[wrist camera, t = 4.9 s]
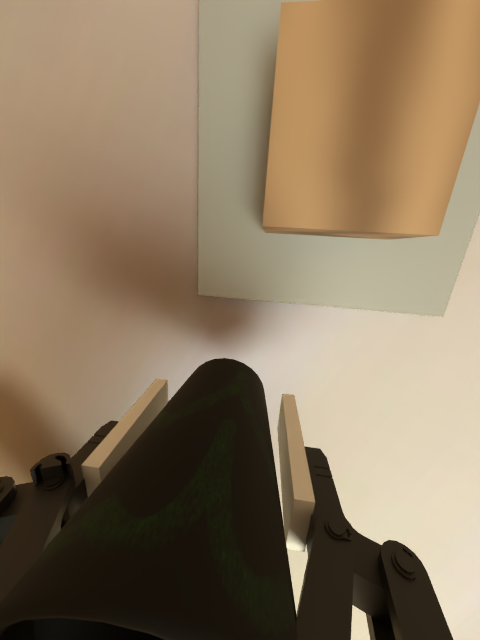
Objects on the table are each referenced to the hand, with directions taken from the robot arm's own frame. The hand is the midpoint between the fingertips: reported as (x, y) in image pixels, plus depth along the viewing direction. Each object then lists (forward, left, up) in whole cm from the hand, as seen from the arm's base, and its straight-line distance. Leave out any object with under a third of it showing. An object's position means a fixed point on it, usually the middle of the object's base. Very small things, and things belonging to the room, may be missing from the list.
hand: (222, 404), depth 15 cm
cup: (0, 0, -1) cm, 1 cm away
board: (+7, +16, -10) cm, 20 cm away
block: (+7, +16, -9) cm, 20 cm away
